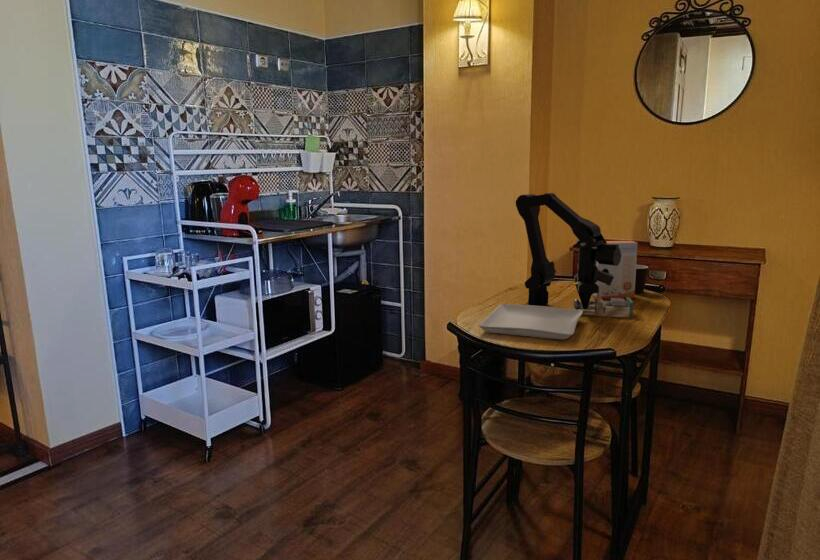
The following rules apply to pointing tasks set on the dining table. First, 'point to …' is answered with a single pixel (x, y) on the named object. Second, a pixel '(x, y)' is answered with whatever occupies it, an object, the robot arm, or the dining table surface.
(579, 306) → the shaft
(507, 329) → the square plate
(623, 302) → the block
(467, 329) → the dining table surface
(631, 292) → the cracker box
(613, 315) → the bearing bed
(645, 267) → the coffee mug
